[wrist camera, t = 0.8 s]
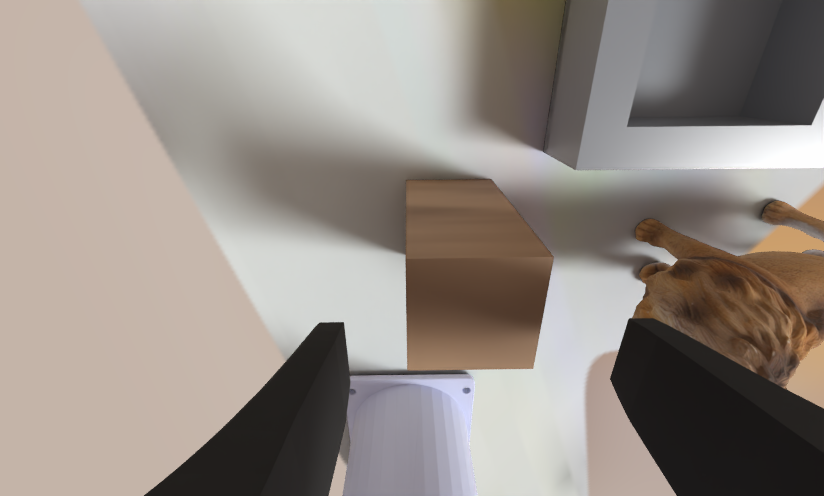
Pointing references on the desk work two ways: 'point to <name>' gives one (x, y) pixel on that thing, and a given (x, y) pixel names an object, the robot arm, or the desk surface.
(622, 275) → the desk surface
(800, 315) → the lion figurine
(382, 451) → the robot arm
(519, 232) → the walnut block
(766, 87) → the square well
